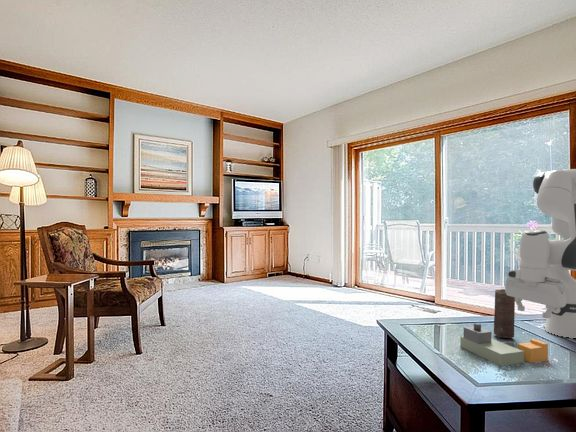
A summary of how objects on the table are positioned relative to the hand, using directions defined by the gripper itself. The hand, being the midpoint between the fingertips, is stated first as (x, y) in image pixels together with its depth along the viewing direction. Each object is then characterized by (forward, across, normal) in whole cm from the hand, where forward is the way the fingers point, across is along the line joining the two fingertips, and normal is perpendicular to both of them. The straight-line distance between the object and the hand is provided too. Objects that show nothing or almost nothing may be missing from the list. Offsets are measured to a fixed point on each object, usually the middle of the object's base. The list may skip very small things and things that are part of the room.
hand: (533, 314), depth 124 cm
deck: (+16, +7, +7) cm, 19 cm away
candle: (+16, +20, -9) cm, 27 cm away
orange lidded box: (+16, 0, 0) cm, 16 cm away
